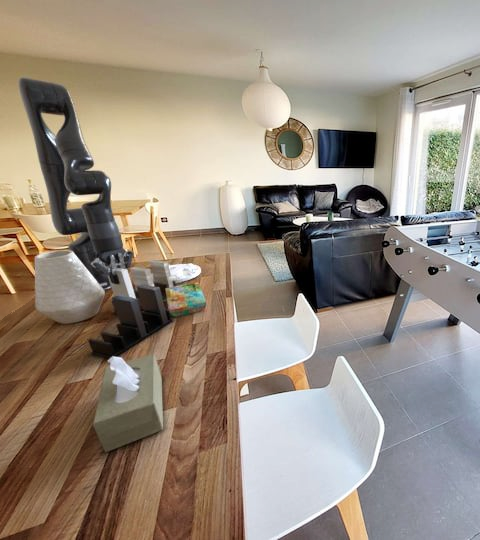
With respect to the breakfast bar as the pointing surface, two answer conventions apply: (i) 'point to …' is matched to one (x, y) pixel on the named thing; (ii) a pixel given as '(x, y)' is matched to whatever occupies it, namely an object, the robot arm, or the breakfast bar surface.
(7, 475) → the breakfast bar surface
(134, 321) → the grey rack
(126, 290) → the white book
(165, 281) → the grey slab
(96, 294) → the vase
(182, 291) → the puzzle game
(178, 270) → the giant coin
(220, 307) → the breakfast bar surface
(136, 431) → the tissue box
